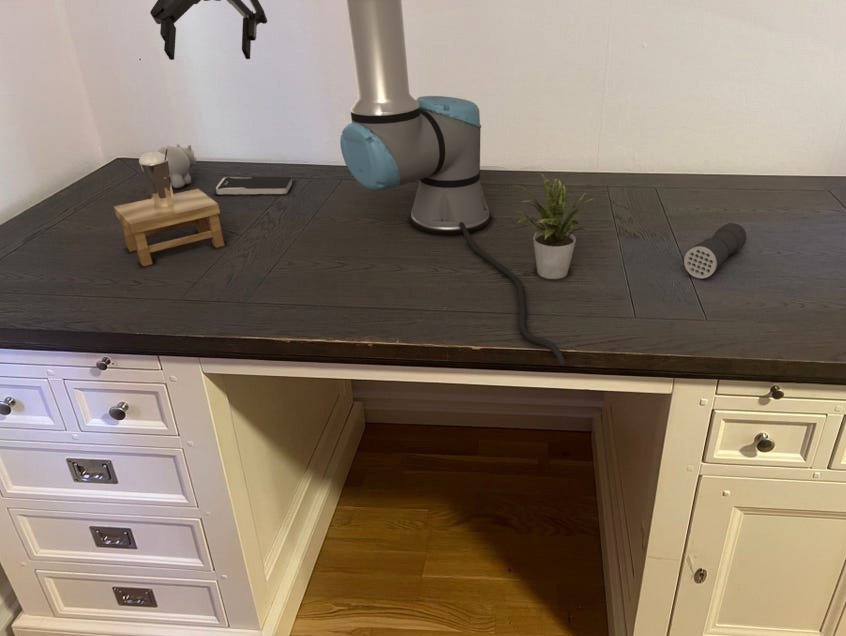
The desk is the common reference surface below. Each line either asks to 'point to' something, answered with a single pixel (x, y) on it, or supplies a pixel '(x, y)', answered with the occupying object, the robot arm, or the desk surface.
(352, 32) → the robot arm
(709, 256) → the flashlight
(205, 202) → the stool
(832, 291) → the desk surface
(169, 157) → the round bodied animal figurine
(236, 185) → the smartphone
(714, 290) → the desk surface
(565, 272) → the house plant
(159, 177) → the milkshake
